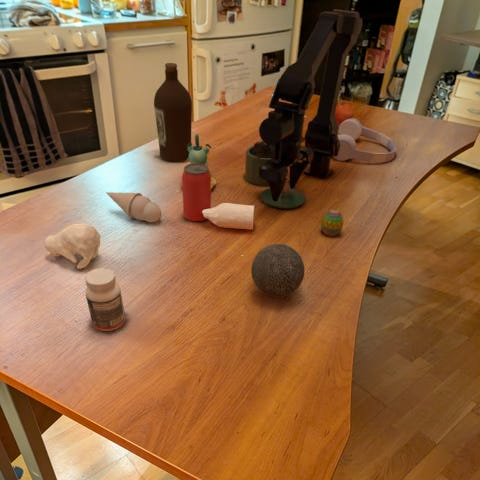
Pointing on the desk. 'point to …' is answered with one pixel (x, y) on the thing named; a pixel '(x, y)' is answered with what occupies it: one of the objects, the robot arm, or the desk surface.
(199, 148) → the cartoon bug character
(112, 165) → the desk surface
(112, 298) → the pill bottle
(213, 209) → the white bottle
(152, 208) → the ice cream cone
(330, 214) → the egg
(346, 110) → the tomato
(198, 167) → the beer can
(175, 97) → the olive oil
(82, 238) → the beige rounded piece
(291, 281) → the decorative ball
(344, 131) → the headphones
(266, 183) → the bin
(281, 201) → the bin lid
